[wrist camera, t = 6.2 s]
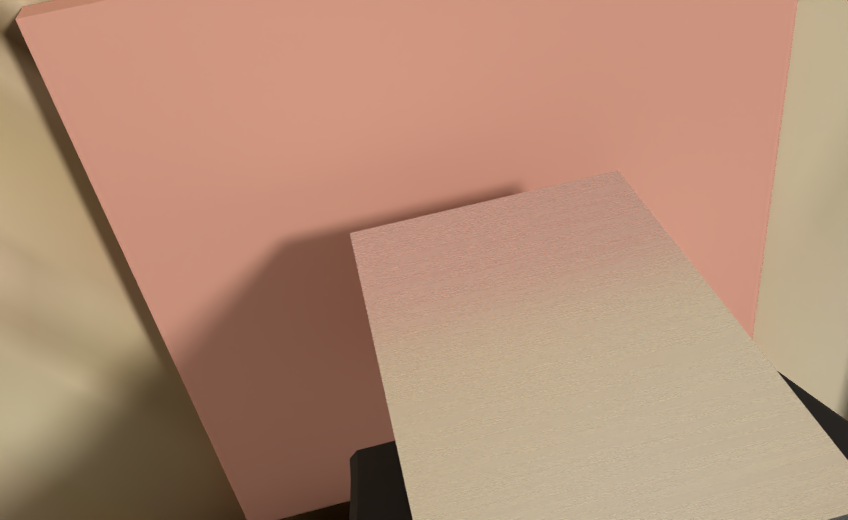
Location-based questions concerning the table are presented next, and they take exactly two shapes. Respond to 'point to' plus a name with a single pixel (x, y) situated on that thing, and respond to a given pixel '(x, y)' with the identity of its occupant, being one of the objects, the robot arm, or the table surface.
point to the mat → (386, 172)
